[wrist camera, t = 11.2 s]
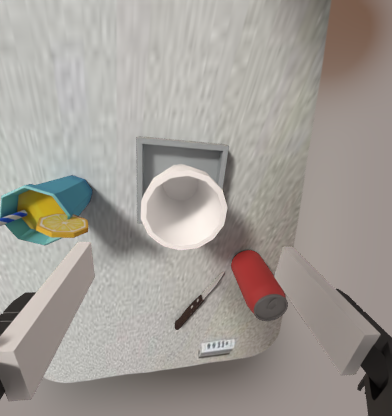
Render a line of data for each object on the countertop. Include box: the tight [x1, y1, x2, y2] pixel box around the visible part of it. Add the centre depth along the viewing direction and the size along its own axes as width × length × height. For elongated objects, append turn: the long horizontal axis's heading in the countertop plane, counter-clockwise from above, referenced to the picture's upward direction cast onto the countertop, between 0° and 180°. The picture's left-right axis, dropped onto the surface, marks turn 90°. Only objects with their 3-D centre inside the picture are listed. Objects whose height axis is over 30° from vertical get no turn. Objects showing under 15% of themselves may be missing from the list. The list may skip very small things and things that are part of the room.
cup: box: [0, 175, 93, 245], centre depth 26 cm, size 14×8×15 cm, turn 90°
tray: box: [136, 136, 229, 224], centre depth 33 cm, size 14×14×3 cm
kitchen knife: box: [175, 272, 224, 330], centre depth 44 cm, size 18×1×2 cm, turn 144°
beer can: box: [231, 250, 288, 321], centre depth 37 cm, size 7×7×12 cm
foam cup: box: [141, 164, 227, 250], centre depth 27 cm, size 10×9×13 cm
